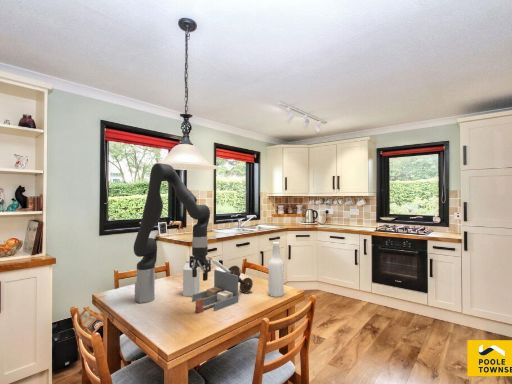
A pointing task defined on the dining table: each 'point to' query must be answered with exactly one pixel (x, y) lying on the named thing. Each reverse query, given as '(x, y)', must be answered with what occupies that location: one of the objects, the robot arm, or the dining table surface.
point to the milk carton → (190, 281)
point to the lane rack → (224, 283)
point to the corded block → (220, 297)
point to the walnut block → (213, 291)
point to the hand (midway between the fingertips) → (199, 278)
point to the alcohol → (276, 273)
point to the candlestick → (245, 283)
